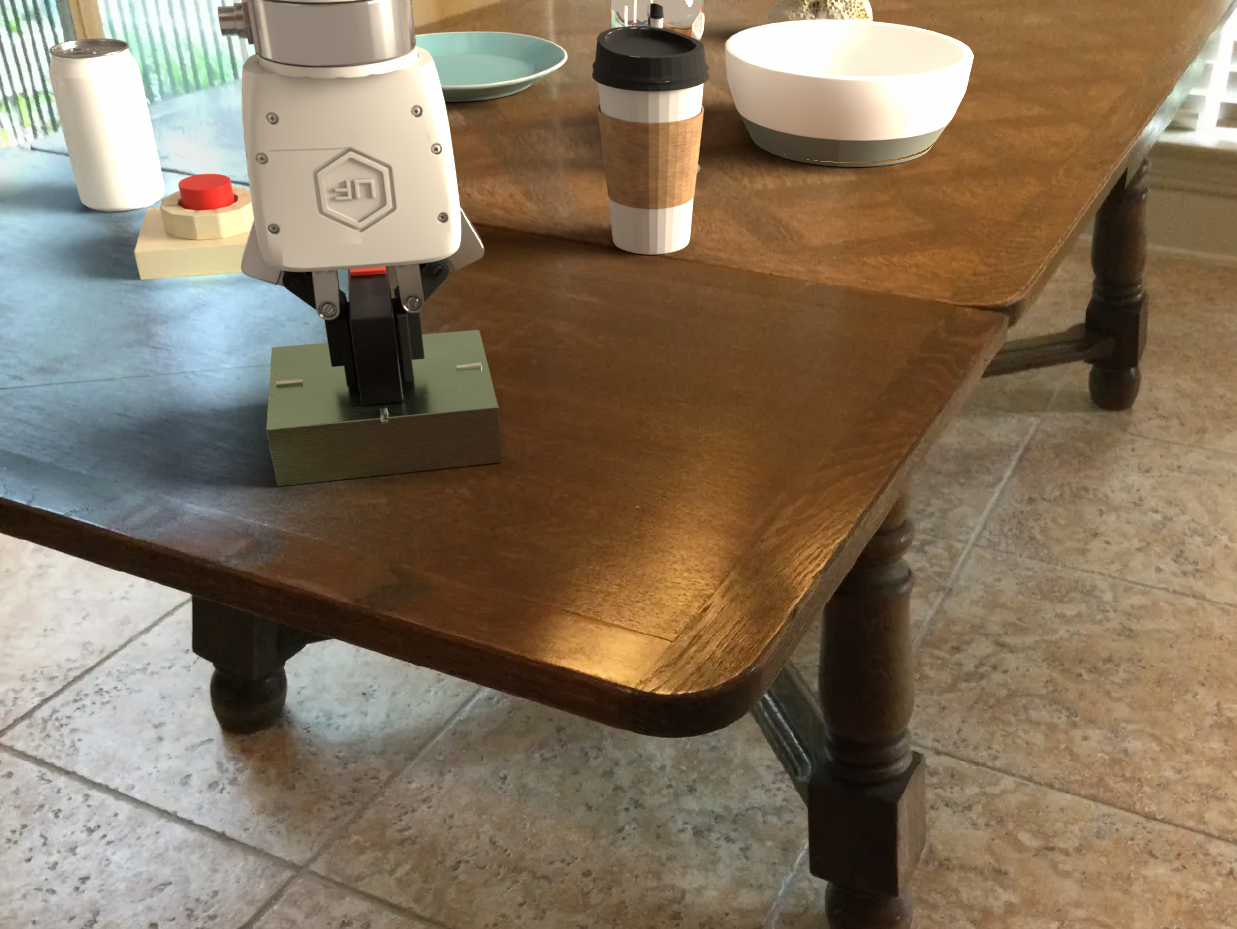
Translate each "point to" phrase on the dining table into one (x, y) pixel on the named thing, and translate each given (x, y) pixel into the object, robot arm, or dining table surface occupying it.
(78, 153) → the can
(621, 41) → the coffee cup
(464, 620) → the dining table surface
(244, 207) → the box
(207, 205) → the release button
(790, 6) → the decorative item
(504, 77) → the plate
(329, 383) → the green lever base box
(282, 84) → the robot arm
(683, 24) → the wineglass
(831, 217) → the dining table surface
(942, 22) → the dining table surface
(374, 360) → the black rectangular case
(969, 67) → the bowl
